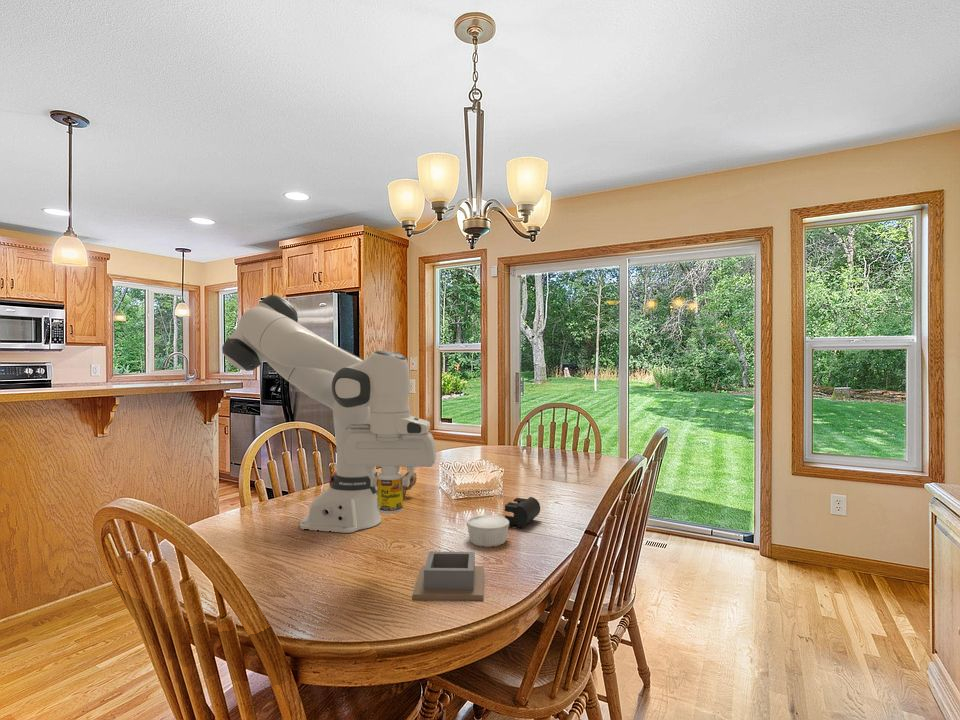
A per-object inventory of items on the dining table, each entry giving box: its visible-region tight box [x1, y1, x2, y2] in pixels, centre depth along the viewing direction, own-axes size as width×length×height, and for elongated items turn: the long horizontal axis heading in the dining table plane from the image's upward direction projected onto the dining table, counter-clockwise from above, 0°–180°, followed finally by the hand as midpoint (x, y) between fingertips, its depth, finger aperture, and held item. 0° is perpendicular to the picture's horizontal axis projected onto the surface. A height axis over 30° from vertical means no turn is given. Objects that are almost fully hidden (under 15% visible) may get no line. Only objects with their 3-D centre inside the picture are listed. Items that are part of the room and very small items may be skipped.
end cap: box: [504, 496, 541, 529], centre depth 149 cm, size 10×7×7 cm
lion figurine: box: [402, 471, 417, 501], centre depth 175 cm, size 15×5×9 cm, turn 104°
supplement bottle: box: [377, 466, 404, 515], centre depth 115 cm, size 6×6×10 cm
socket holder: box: [411, 551, 485, 601], centre depth 109 cm, size 14×14×5 cm
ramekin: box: [466, 514, 510, 548], centre depth 135 cm, size 11×11×5 cm
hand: (390, 486), depth 115 cm, fingers closed on supplement bottle, 5 cm apart
